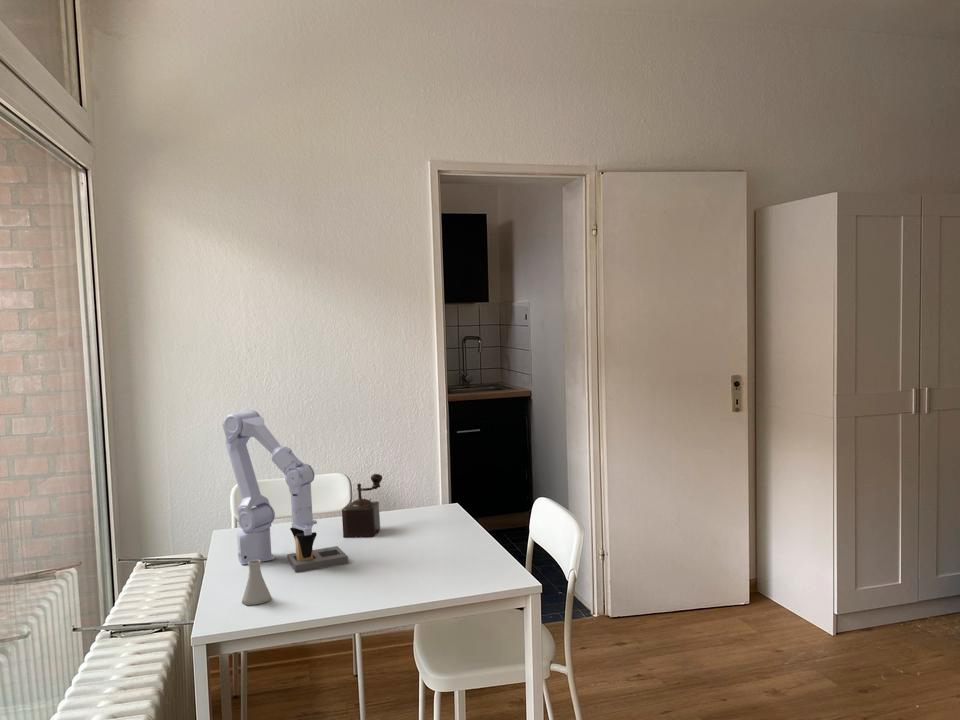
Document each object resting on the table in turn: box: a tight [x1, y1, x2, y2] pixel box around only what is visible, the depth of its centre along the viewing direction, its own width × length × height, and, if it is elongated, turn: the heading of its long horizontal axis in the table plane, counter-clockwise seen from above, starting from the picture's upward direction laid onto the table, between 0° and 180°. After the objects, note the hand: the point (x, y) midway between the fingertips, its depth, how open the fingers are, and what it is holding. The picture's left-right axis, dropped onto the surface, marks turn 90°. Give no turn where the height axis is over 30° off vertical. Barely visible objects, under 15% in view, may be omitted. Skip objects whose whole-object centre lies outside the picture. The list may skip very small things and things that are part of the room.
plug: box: [294, 536, 314, 561], centre depth 217 cm, size 4×4×9 cm
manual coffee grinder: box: [341, 473, 383, 539], centre depth 250 cm, size 16×11×18 cm
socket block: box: [286, 545, 349, 573], centre depth 219 cm, size 15×12×2 cm
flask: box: [241, 560, 272, 606], centre depth 189 cm, size 7×7×10 cm
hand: (304, 554), depth 217 cm, fingers open, 6 cm apart
